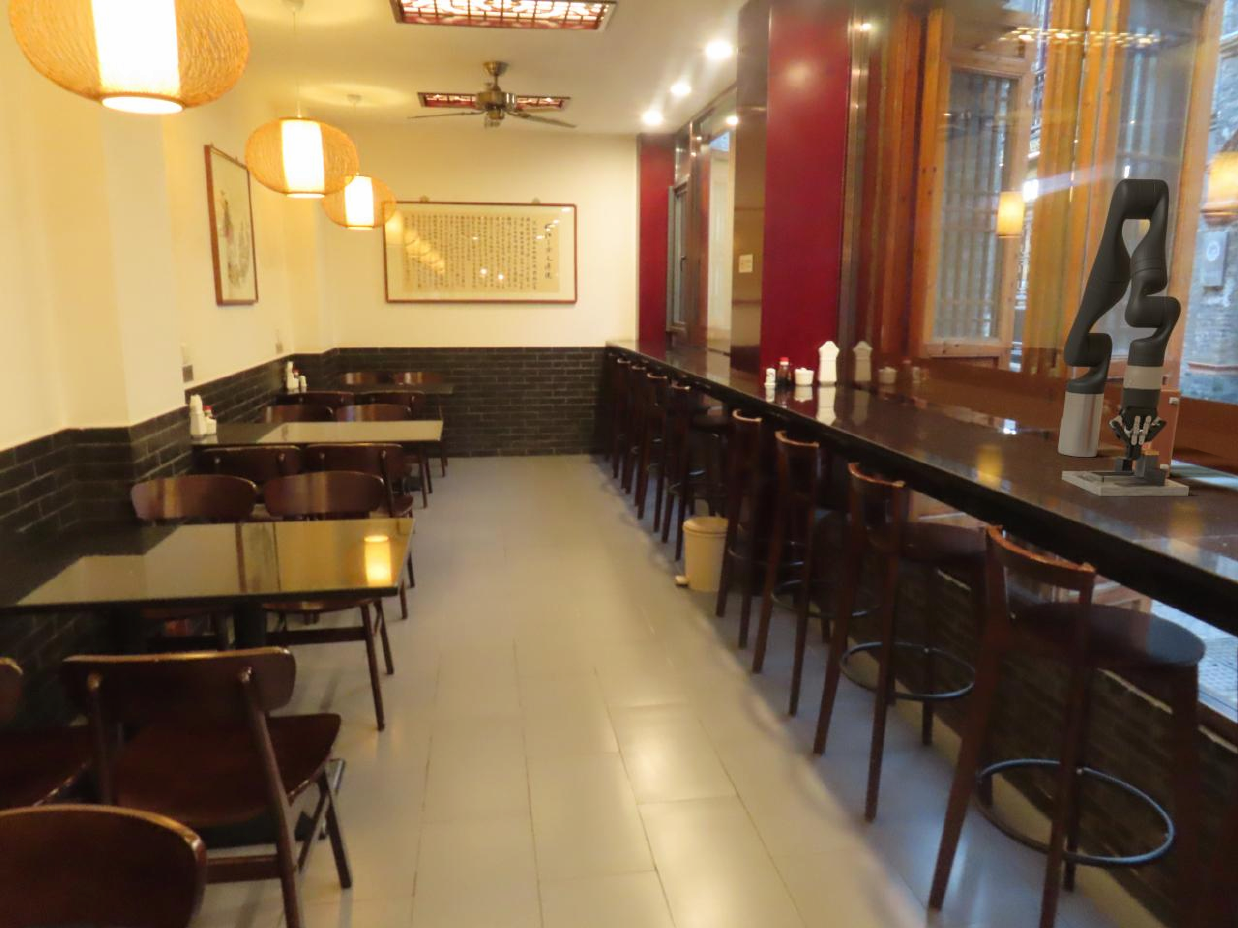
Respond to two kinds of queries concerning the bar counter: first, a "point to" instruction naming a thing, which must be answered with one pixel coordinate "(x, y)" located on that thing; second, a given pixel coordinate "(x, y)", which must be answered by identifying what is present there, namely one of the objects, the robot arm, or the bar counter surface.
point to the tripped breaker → (1146, 462)
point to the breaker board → (1126, 481)
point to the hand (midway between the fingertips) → (1131, 459)
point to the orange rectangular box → (1166, 436)
